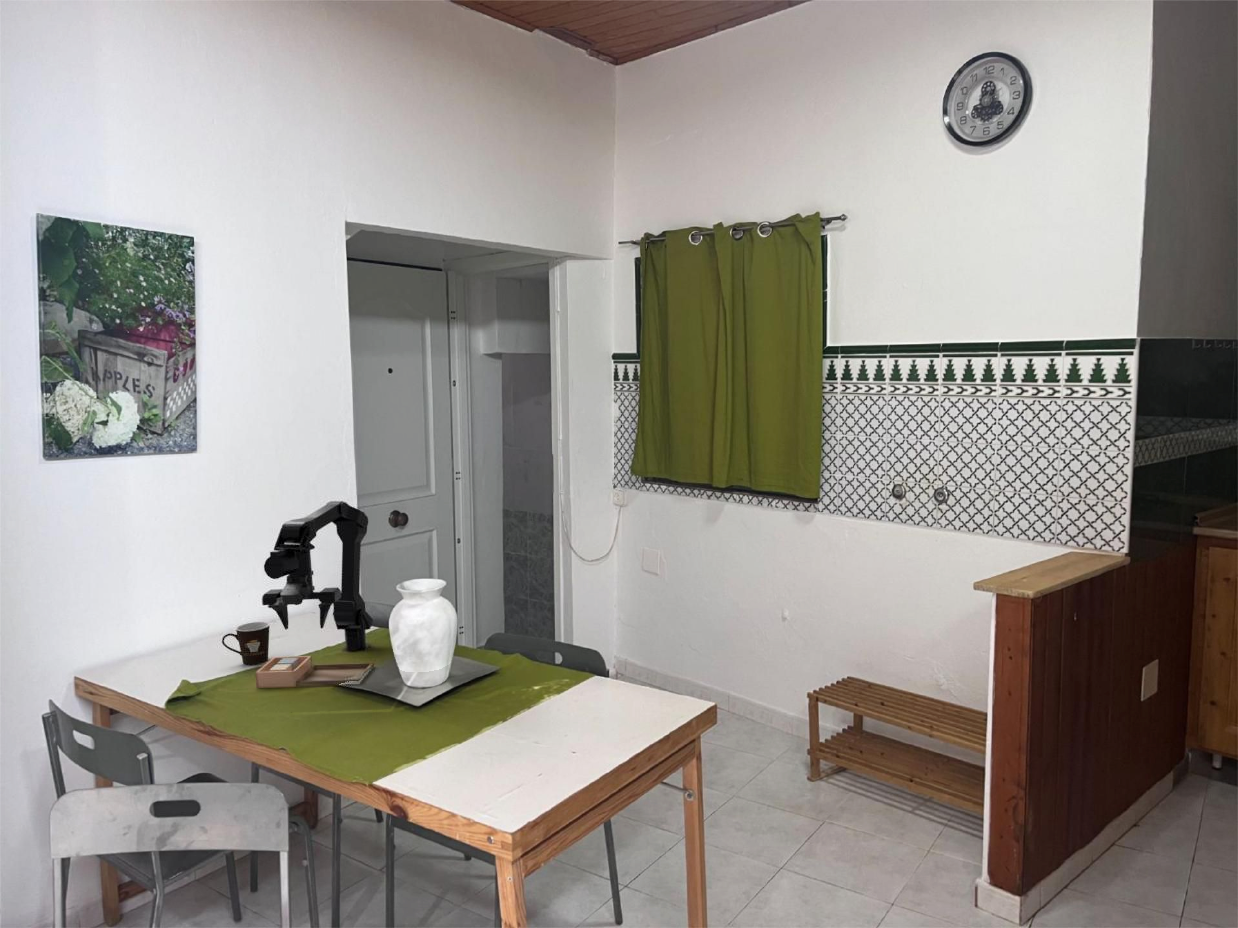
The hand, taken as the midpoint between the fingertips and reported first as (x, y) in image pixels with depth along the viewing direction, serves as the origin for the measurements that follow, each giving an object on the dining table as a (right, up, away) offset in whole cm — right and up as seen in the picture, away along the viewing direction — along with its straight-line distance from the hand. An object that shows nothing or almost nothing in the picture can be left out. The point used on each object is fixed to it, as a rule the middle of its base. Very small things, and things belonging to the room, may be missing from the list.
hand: (304, 628), depth 233 cm
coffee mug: (-20, -12, +16) cm, 28 cm away
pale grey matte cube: (-5, -13, +1) cm, 13 cm away
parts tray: (+8, -13, -1) cm, 15 cm away
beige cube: (-5, -13, -4) cm, 14 cm away
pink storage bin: (-5, -13, -1) cm, 14 cm away
